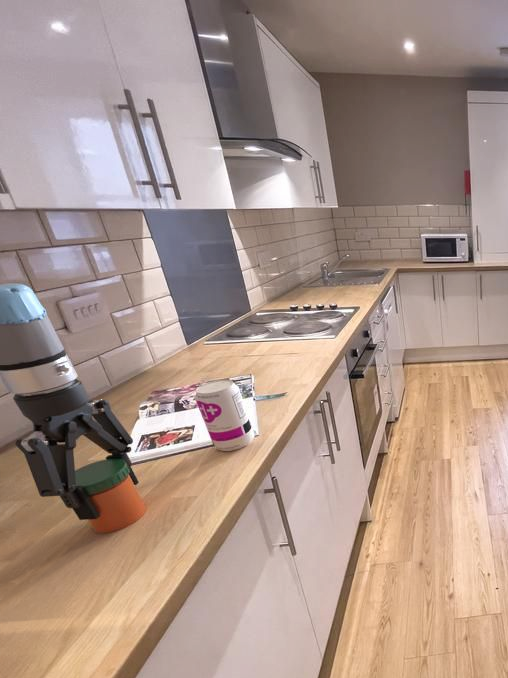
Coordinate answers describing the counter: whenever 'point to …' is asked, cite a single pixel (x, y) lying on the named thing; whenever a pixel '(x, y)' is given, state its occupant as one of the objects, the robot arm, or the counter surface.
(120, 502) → the honey jar
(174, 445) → the counter surface
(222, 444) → the supplement can
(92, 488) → the honey lid
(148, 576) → the counter surface
